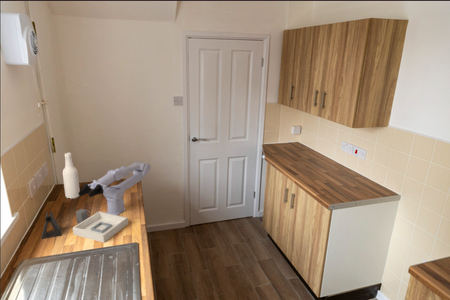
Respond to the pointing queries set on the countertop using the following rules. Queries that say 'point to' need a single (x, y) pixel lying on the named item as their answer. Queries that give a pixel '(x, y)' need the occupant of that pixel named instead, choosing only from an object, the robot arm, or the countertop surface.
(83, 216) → the grey rectangular block
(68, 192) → the alcohol
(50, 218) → the phone stand
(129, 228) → the countertop surface
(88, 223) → the box
